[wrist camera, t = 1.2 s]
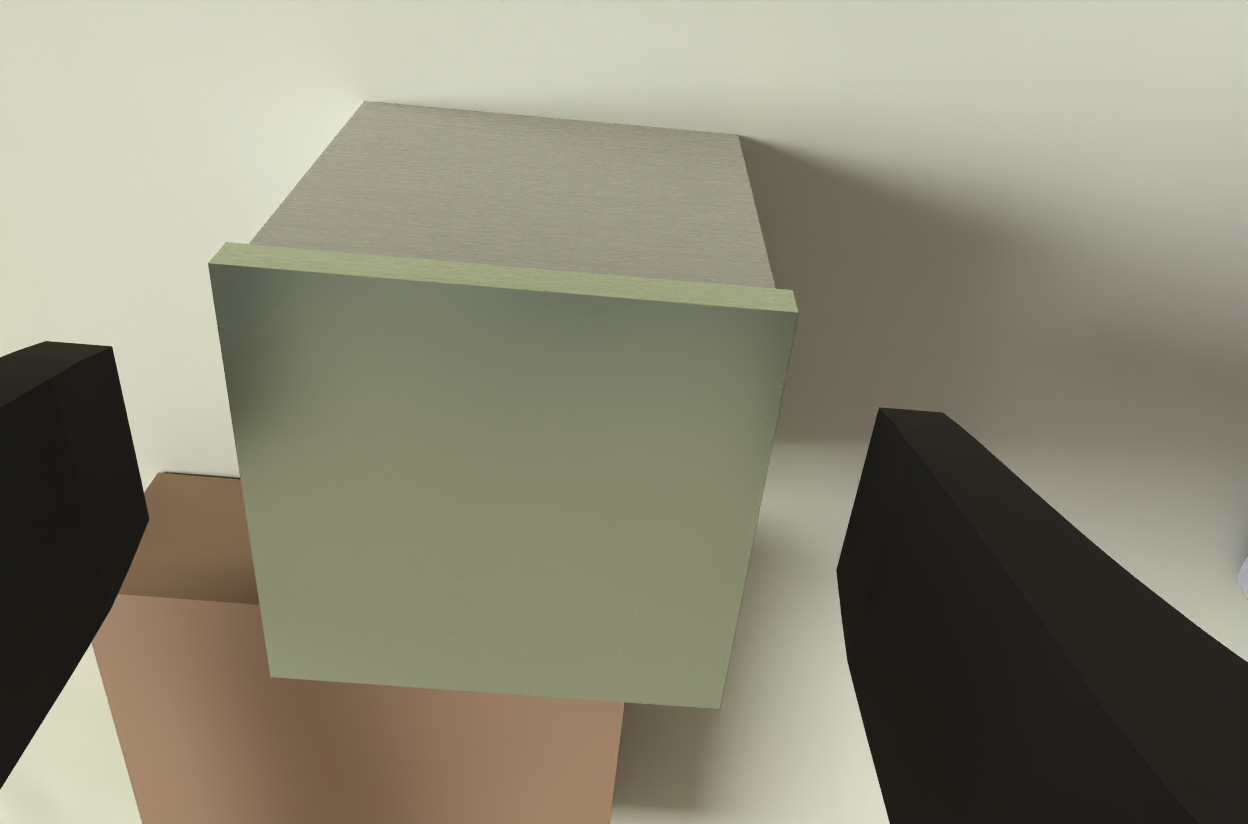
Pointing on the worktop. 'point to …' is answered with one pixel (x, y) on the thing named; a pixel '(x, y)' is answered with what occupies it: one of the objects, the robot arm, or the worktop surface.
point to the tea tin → (506, 405)
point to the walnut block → (312, 707)
